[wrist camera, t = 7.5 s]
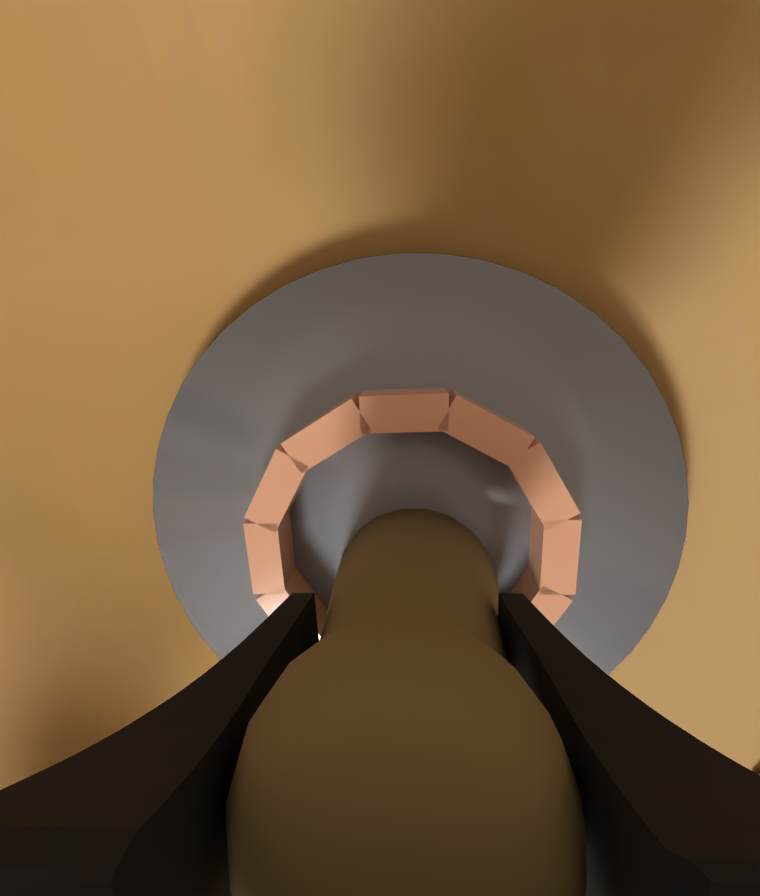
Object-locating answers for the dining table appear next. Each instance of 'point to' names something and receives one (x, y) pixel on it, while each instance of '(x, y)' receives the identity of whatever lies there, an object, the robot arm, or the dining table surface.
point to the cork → (406, 741)
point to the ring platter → (422, 447)
